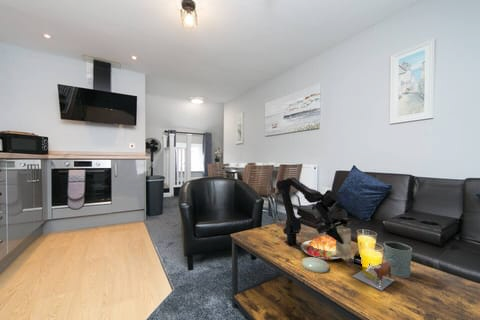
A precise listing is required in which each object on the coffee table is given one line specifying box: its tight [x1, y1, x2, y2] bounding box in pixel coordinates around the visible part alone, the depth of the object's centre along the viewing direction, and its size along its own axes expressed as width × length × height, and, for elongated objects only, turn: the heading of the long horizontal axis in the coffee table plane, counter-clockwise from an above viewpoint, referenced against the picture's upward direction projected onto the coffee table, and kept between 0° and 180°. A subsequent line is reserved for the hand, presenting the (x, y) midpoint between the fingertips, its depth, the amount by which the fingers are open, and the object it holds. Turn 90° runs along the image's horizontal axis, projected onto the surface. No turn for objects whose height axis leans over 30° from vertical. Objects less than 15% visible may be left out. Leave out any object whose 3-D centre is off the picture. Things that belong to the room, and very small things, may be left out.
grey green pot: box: [383, 241, 413, 279], centre depth 88 cm, size 10×10×12 cm
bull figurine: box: [365, 261, 392, 287], centre depth 80 cm, size 4×13×8 cm, turn 113°
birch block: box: [335, 226, 352, 260], centre depth 89 cm, size 4×4×13 cm
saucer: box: [301, 256, 330, 274], centre depth 93 cm, size 12×12×1 cm
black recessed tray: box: [346, 252, 362, 267], centre depth 96 cm, size 12×7×5 cm, turn 48°
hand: (346, 242), depth 88 cm, fingers closed on birch block, 4 cm apart
